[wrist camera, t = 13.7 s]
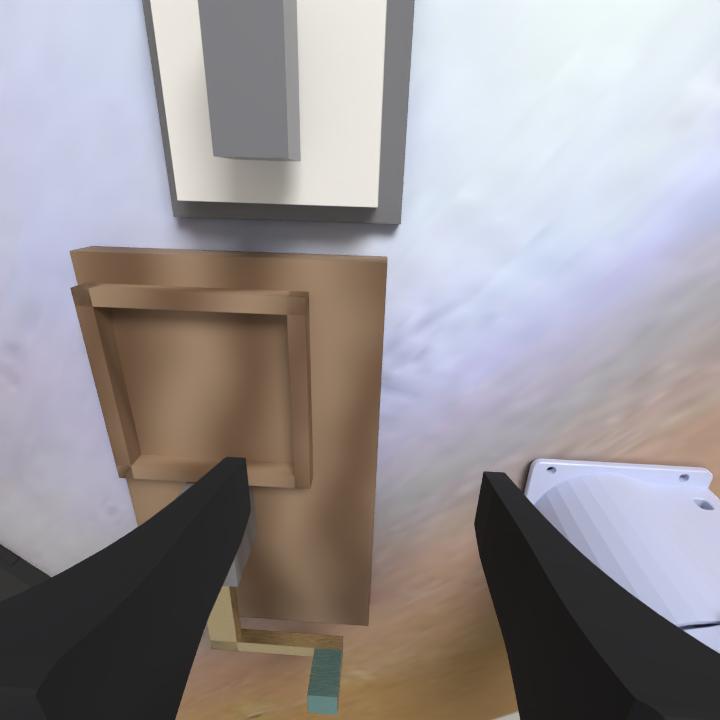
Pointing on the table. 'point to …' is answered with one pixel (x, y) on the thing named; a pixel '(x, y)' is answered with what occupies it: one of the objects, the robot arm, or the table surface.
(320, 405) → the walnut base
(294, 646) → the latch bolt
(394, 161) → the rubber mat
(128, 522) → the table surface
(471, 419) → the table surface
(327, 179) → the cover
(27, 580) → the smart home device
